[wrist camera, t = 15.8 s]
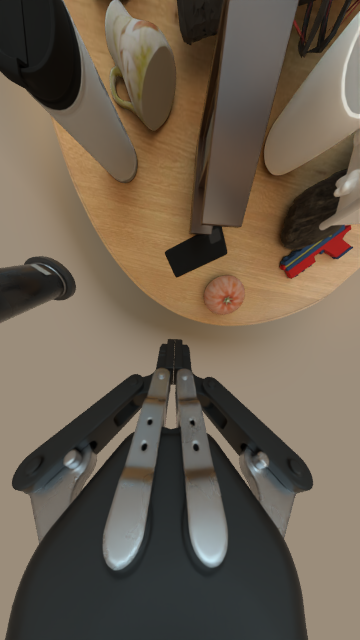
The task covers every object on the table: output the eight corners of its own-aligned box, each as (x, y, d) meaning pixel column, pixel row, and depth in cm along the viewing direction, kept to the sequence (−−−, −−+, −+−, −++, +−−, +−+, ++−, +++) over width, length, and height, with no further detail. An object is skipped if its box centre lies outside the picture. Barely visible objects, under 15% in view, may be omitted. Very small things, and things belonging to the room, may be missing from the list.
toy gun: (294, 289, 36) (280, 262, 32) (289, 287, 38) (276, 261, 34) (355, 247, 31) (348, 210, 27) (347, 247, 32) (340, 211, 28)
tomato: (243, 274, 36) (258, 281, 29) (231, 308, 41) (242, 321, 34) (205, 270, 35) (211, 277, 28) (199, 306, 41) (203, 318, 34)
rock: (272, 254, 32) (314, 249, 23) (276, 198, 28) (330, 163, 19) (311, 245, 32) (369, 236, 23) (321, 187, 28) (397, 147, 18)
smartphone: (176, 278, 37) (227, 253, 33) (176, 279, 36) (228, 253, 33) (163, 252, 33) (219, 221, 30) (163, 252, 32) (220, 220, 29)
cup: (314, 102, 21) (497, -87, 9) (299, 174, 25) (409, 112, 13) (261, 118, 22) (363, -36, 10) (256, 185, 26) (322, 136, 14)
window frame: (207, 235, 31) (241, 226, 14) (189, 234, 31) (201, 223, 14) (219, 150, 24) (320, -80, 7) (196, 148, 24) (240, -94, 7)
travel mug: (103, 176, 26) (-51, 41, 8) (105, 125, 22) (-133, -255, 5) (134, 191, 27) (54, 101, 10) (140, 145, 24) (39, -110, 6)
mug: (124, 0, 17) (147, -108, 11) (165, 119, 25) (192, 94, 18) (87, 49, 18) (88, -27, 12) (137, 149, 25) (154, 136, 19)
